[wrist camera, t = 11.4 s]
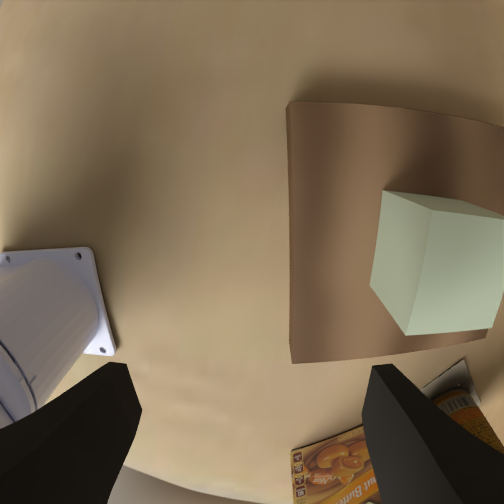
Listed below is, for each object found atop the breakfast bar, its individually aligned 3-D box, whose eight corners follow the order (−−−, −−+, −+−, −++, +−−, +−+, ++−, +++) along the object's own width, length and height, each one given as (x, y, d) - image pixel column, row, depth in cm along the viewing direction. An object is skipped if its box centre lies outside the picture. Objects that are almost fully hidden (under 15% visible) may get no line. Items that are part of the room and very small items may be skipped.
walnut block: (288, 336, 20) (292, 363, 18) (285, 110, 16) (289, 101, 13) (465, 318, 20) (485, 337, 17) (486, 129, 16) (514, 130, 13)
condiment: (420, 444, 24) (457, 536, 12) (390, 408, 22) (435, 527, 11) (480, 401, 22) (533, 485, 11) (461, 356, 20) (536, 459, 9)
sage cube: (369, 284, 16) (405, 335, 11) (382, 190, 14) (432, 210, 10) (444, 285, 16) (491, 327, 11) (461, 200, 14) (519, 222, 10)
